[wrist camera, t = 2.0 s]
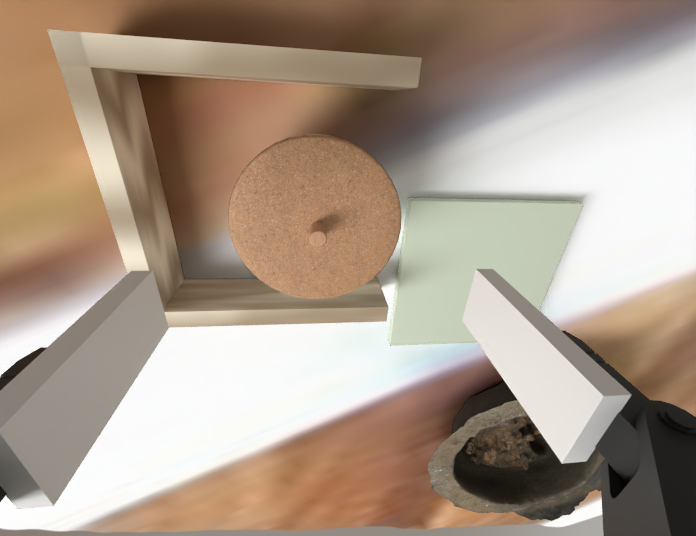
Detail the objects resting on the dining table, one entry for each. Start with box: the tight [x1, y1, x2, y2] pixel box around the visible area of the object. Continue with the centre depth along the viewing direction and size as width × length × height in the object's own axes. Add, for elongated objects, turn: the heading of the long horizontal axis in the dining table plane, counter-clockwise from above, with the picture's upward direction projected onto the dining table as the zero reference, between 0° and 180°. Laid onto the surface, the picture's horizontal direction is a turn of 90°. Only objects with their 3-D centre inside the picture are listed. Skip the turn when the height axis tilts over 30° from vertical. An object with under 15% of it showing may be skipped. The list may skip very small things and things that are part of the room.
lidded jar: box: [228, 134, 401, 299], centre depth 22 cm, size 11×11×9 cm
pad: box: [388, 198, 583, 346], centre depth 31 cm, size 16×16×1 cm
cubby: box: [47, 30, 422, 327], centre depth 23 cm, size 19×20×5 cm
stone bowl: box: [428, 381, 605, 521], centre depth 40 cm, size 25×25×9 cm
